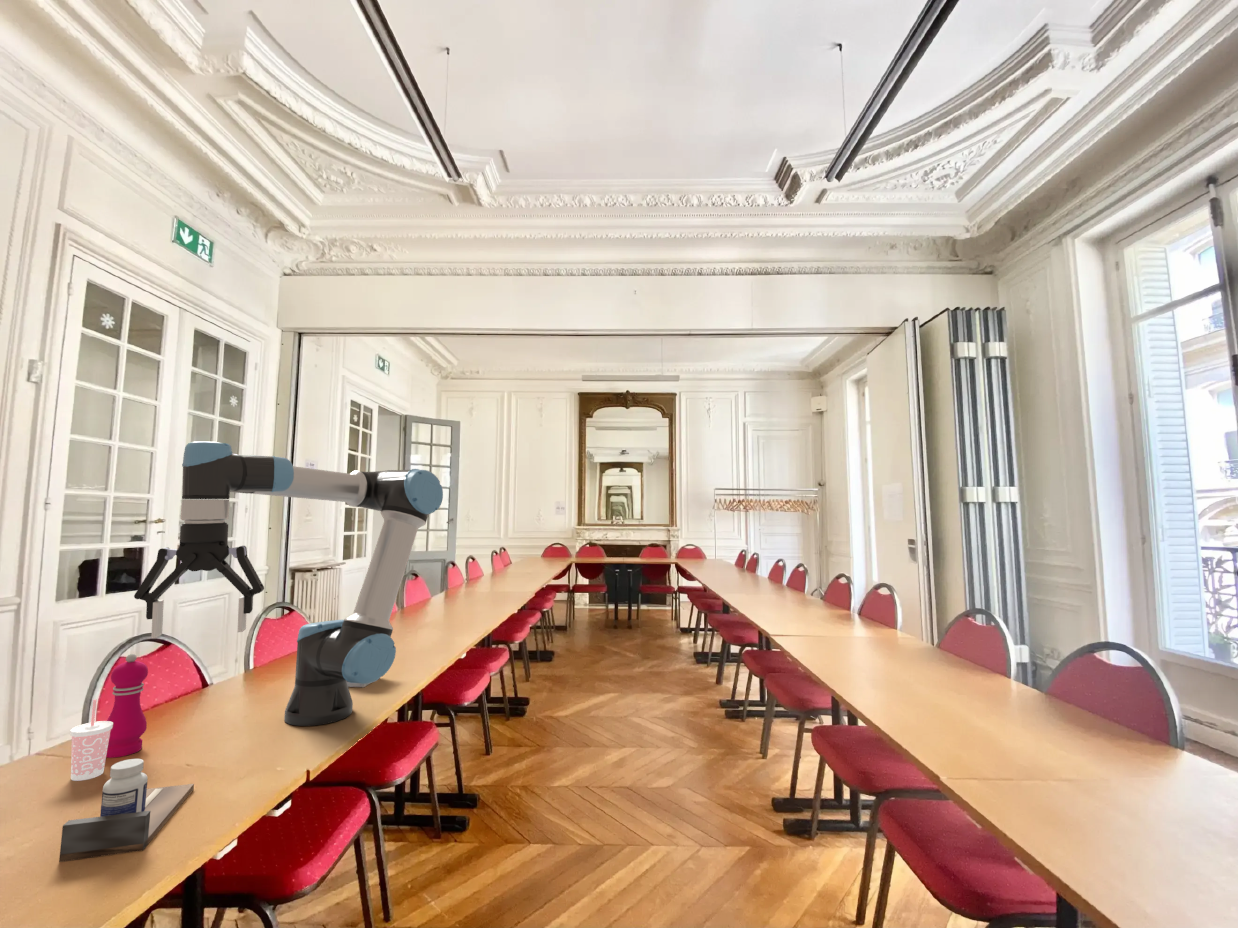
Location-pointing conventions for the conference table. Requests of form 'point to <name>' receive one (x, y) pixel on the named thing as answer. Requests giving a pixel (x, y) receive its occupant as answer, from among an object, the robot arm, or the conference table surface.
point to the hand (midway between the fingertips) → (200, 633)
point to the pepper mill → (127, 708)
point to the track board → (122, 827)
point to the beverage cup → (89, 748)
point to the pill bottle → (125, 789)
